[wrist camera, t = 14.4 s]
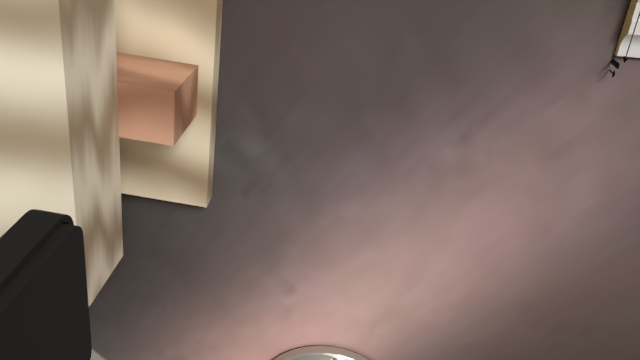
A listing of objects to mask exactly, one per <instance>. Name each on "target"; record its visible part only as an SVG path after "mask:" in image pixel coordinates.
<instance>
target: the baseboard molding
mask: <svg viewBox="0 0 640 360" xmlns="http://www.w3.org/2000/svg"><path fill="white" fill-rule="evenodd" d="M615 55H616V56H622V57H623V58H624V62H625V61H626V60H627V58H626V57H633V58H640V0H631V3H630V6H629V9H628V12H627V15H626V19H625V22H624V25H623V28H622V32H621V35H620V38H619V41H618V45H617V48H616V51H615ZM613 58H614V57H613ZM611 63H612V64H613V65H614V66H615V67H616V68H617V69H618V68H619V63H618V62H616V61H615V60H614V59H612V61H611ZM609 71H610V72H611V73H612V74H613V75H612V77H613V76H614V75H615V71H614V72H612V71H611V70H609Z"/></svg>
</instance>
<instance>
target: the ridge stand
mask: <svg viewBox="0 0 640 360" xmlns="http://www.w3.org/2000/svg"><path fill="white" fill-rule="evenodd" d="M222 4H223V0H115V26H116V56H117V86H118V116H119V147H120V177H121V193H123V194H129V195H135V196H141V197H147V198H153V199H159V200H165V201H171V202H177V203H183V204H189V205H195V206H201V207H207V206H208V204H209V202H210V200H211V198H212V184H213V166H214V148H215V130H216V112H217V94H218V76H219V58H220V40H221V22H222Z"/></svg>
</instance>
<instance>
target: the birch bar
mask: <svg viewBox="0 0 640 360" xmlns="http://www.w3.org/2000/svg"><path fill="white" fill-rule="evenodd" d="M32 209H37V210H43V211H49V212H55V213H60V214H66V215H69V216H71V218H72V220H73V223H74V225H76V226H80V227H81V228H82V230H83V236H84V250H85V264H86V278H87V292H88V306H90V305H91V303H92V302H93V300H94V299H95V297H96V296H97V294H98V293H99V291H100V290H101V288H102V287H103V285H104V284H105V282H106V281H107V279H108V278H109V276H110V275H111V273H112V272H113V270H114V269H115V267H116V266H117V264H118V263H119V261H120V260H121V258H122V257H123V237H122V207H121V177H120V147H119V116H118V86H117V56H116V26H115V0H0V237H1V236H2V235H3V234H4V233H6V232H7V231H8V230H9V229H10V228H11V227H12V226H13V225H14V224H15V223H16V222H17V221H18V220H19V219H20V218H21V217H22V216H23V215H24V214H25V213H26V212H28V211H29V210H32Z"/></svg>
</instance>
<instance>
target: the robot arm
mask: <svg viewBox="0 0 640 360" xmlns="http://www.w3.org/2000/svg"><path fill="white" fill-rule="evenodd" d="M91 348H92V347H91V333H90V320H89V306H88V292H87V278H86V264H85V250H84V236H83V230H82V228H81V227H80V226H76V225H74V223H73V220H72V218H71V216H69V215H66V214H60V213H55V212H49V211H43V210H37V209H32V210H29V211H28V212H26V213H25V214H24V215H23V216H22V217H21V218H20V219H19V220H18V221H17V222H16V223H15V224H14V225H13V226H12V227H11V228H10V229H9V230H8V231H7V232H6V233H4V234H3V235H2V236H1V237H0V360H90V358H91ZM273 360H368V359H367V358H365V357H363V356H361V355H359V354H357V353H354V352H351V351H349V350H346V349H341V348H336V347H330V346H309V347H302V348H298V349H293V350H290V351H288V352H286V353H283V354H281V355H279V356H278V357H276V358H275V359H273Z"/></svg>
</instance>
